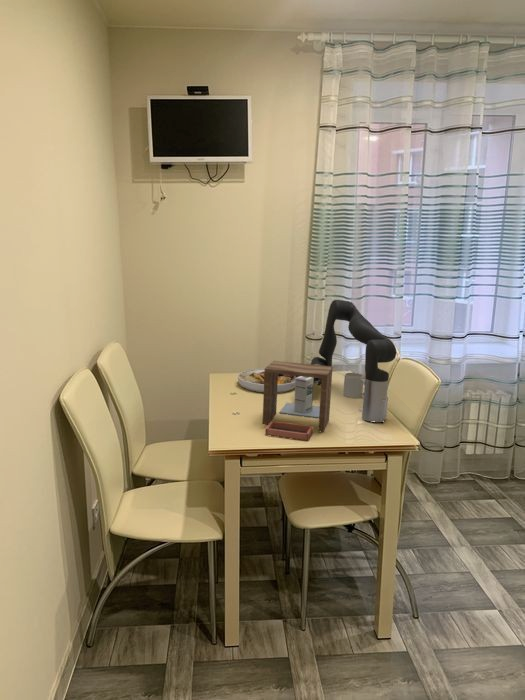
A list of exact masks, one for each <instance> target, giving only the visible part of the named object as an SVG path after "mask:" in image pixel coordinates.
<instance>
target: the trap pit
mask: <svg viewBox="0 0 525 700" xmlns="http://www.w3.org/2000/svg"><path fill="white" fill-rule="evenodd" d="M313 427H314V426H313V425H305V424H300V423H299V424H298V423H289V422H283V421H276V420H275V421H273V420H271V421H270V423H269V424H268V425H266V428H265V434H264V435H265V436H267V435H271V436H270V437H274V436H279V437H278V438H282V437H285V438H284V439H289V438H292V439H291V440H296V439H298V440H299V441H304V440H307V441H306V442H308V441H310V438H311V436H312V435H313V431H314V430H313V429H314V428H313ZM298 440H297V441H298Z"/></svg>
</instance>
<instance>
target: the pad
mask: <svg viewBox="0 0 525 700" xmlns="http://www.w3.org/2000/svg"><path fill="white" fill-rule="evenodd" d="M279 413H280V415H286V414H288V415H287V416H295V417H302V416H304V418H310V417H313V418H312V419H318V418H319V413H320V405H319V406H318V405H312V410H311V411H308V412H306V413H302V412H298V411H295V410H294V402H285V404H284V405H283V406H282V408H281V409H280V411H278V414H279Z"/></svg>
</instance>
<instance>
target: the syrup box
mask: <svg viewBox="0 0 525 700" xmlns="http://www.w3.org/2000/svg"><path fill="white" fill-rule="evenodd" d="M313 381H314V378H313V377H303V376H300V377H297V378H295V388H294V402H293V403H294V410H295V411H298V412H302V413H306V412H308V411H311V410H312V406H314V405H313V400H314V399H313V398H314V383H313Z"/></svg>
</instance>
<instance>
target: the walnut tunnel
mask: <svg viewBox="0 0 525 700" xmlns="http://www.w3.org/2000/svg"><path fill="white" fill-rule="evenodd" d="M333 368H334V367H333V365H332V366H322V365H311V363H310V364H309V363H301V362H291V361H279V360H273V361H271V362H270V363H269V364H268V365H267V366H266V367H264V369H265V371H264V393H263V402H262V404H263V405H262V424H265V425H264V426H268V425H269V424H270V423H269V422H271V421H273V419H274V417H275V416H276V415H277V406H278V405H277V403H278V400H277V399H278V393H277V383H278V374H284V375H294V376H303V377H313V378H322V380H321V385H320V397H319V399H320V401H319V406H320V413H319V419H318V430H317V431H321V432H320V433H323V432H325V430H326V428H327V426H328V424H329V422H330V412H331V397H332V396H331V395H332V380H333V379H332V378H333ZM328 421H329V422H328Z"/></svg>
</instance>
